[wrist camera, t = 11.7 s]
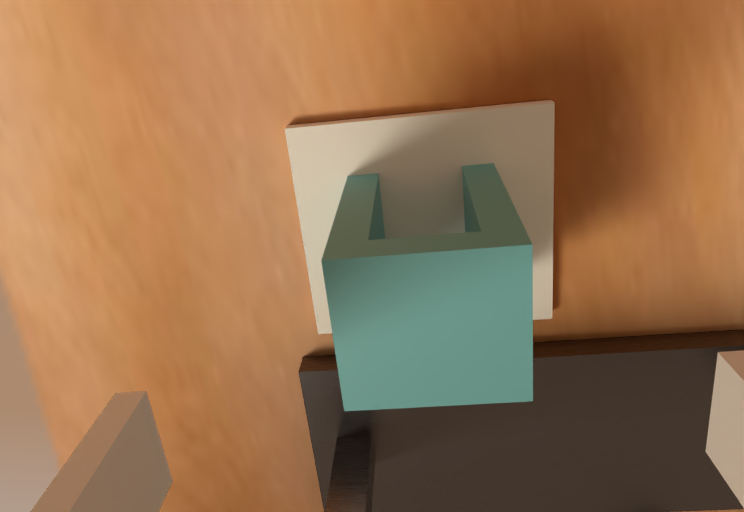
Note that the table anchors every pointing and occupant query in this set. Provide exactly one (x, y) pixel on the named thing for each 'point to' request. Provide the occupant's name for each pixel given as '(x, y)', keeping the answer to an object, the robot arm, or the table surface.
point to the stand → (536, 436)
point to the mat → (427, 178)
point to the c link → (431, 302)
